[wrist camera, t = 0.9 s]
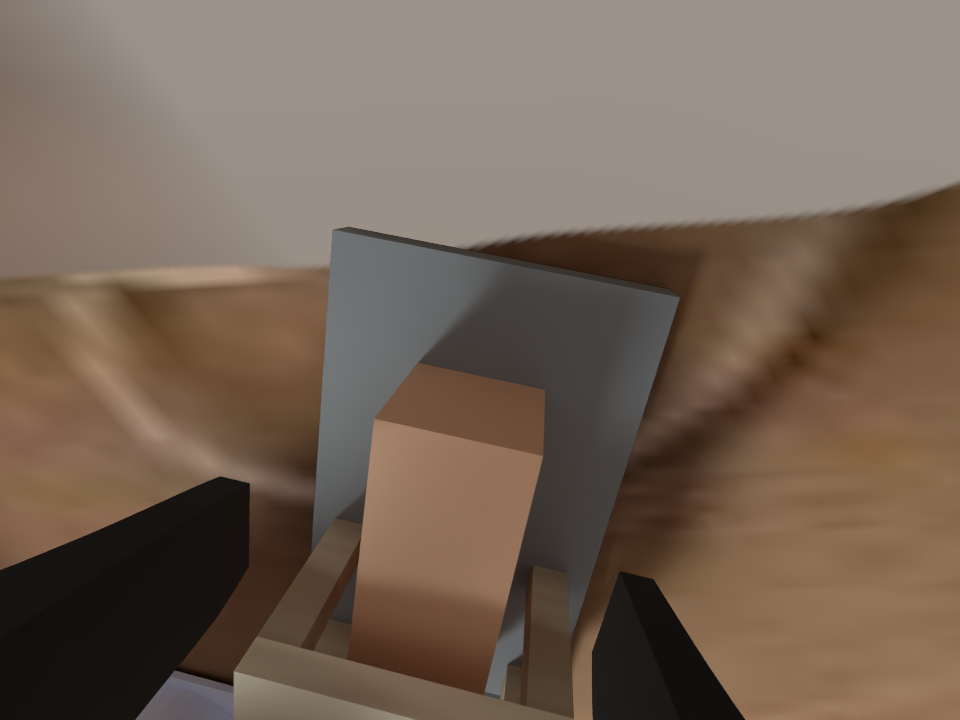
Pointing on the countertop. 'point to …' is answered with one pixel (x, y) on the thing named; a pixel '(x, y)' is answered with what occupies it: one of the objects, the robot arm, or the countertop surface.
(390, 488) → the terracotta block
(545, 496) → the board
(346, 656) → the wooden tunnel
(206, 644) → the countertop surface
